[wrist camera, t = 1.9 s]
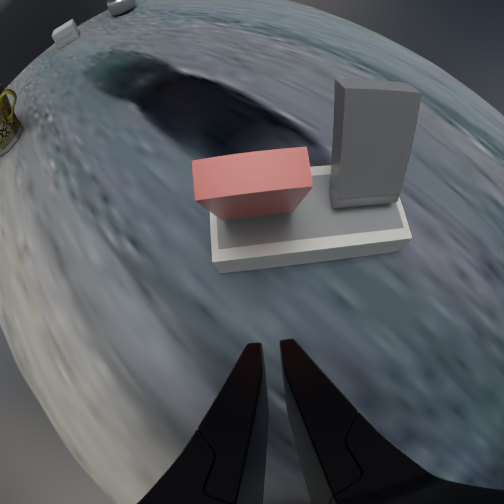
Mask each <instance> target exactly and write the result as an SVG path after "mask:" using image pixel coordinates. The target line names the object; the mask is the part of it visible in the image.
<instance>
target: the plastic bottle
mask: <svg viewBox="0 0 504 504" xmlns="http://www.w3.org/2000/svg"><path fill="white" fill-rule="evenodd" d="M107 2H108V3H107V5H108V10H109V11H110V13H111V14H113V15H119V14H122V13H125V12H127V11H129V10H130V9H132V8H133V7H134V5H135V0H107Z"/></svg>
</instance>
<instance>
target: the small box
mask: <svg viewBox="0 0 504 504" xmlns="http://www.w3.org/2000/svg"><path fill="white" fill-rule="evenodd" d="M52 37H53V39H54V41H55V43H56V45H57V46H58V48H59V49H61V48H62V47H64V46H66V45H67V44H69V43H70V42H72V41H74V40H76V39H77V38H79V30H78V28H77V26H76V24H75V22H74V21H73V19H72V20H70V21H68V22H67V23H65V24H63V25H62V26H60V27H58V28H57V29H55V30H54V31H53V34H52Z"/></svg>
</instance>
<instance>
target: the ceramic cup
mask: <svg viewBox="0 0 504 504" xmlns="http://www.w3.org/2000/svg"><path fill="white" fill-rule="evenodd" d="M6 94H11V95H13V97H14V102H13V105H12V107H11V105H10V103H9V100H8V97H7V95H6ZM16 99H17V96H16V93H15V92H14V91H13V90H11V89H6V90H4V88H3V87H2V85H1V83H0V156H1V155H3V154H5V153H7V152H8V151H9V150H10V149H11V148H12V146H13V145H14V144H15V143H16V142H17V141H18V139H19V137H20V135H21V133H22V130H23V127H22V126H21V124H20V122H19V120H18V119H17V117H16V115H15V113H14V106H15V103H16Z"/></svg>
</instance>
